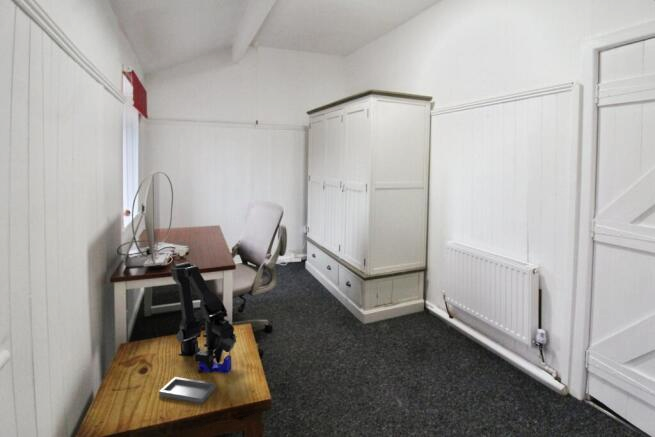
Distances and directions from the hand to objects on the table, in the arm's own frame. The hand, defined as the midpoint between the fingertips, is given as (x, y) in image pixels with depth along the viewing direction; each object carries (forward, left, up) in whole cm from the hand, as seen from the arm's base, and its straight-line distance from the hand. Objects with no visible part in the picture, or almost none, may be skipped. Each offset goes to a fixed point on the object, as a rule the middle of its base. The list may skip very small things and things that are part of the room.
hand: (214, 366), depth 147 cm
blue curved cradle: (0, 0, -2) cm, 2 cm away
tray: (-2, -15, -2) cm, 15 cm away
